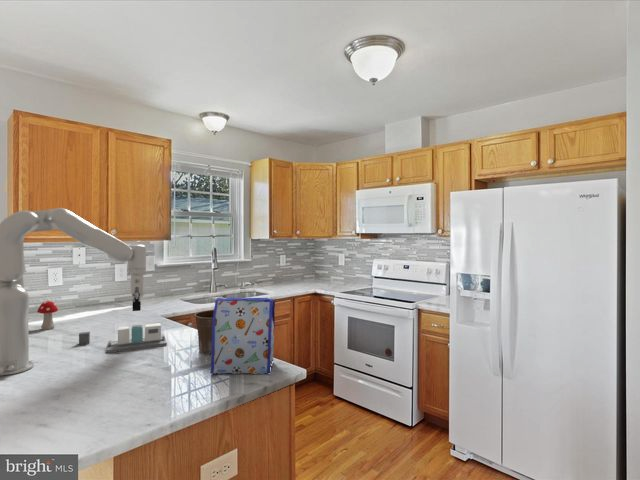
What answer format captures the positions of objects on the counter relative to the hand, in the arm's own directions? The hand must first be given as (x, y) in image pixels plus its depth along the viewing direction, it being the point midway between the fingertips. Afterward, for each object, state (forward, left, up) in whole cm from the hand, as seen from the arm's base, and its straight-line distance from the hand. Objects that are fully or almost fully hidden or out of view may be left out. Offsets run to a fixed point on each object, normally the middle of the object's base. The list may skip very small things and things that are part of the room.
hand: (136, 308), depth 168 cm
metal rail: (0, 0, -16) cm, 16 cm away
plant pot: (-24, -30, -17) cm, 42 cm away
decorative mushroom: (+56, +43, -17) cm, 73 cm away
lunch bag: (-52, -36, -17) cm, 66 cm away
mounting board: (0, 0, -17) cm, 17 cm away
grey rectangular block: (+14, +22, -17) cm, 31 cm away
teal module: (0, 0, -15) cm, 15 cm away
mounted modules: (0, -1, -15) cm, 15 cm away
